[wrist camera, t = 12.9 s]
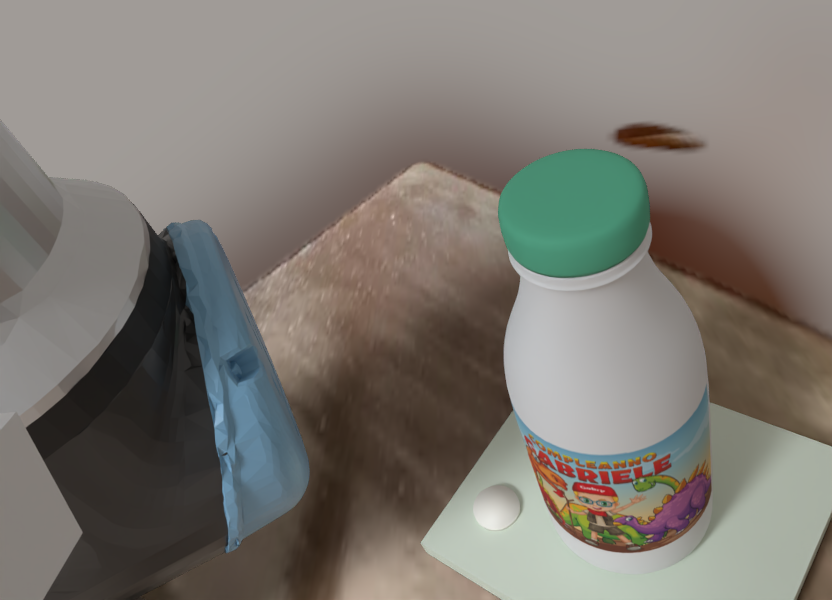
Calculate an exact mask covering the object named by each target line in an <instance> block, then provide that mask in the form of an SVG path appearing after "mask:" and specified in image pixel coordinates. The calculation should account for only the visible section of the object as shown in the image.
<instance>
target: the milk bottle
mask: <svg viewBox="0 0 832 600" xmlns="http://www.w3.org/2000/svg"><path fill="white" fill-rule="evenodd" d="M649 204H650V203H649V197H648V190H647V185H646V182H645V180H644V178H643V176H642V174H641V172H640V171H639V169H638V168H637V167H636V166H635V165H634V164H633V163H632V162H631V161H629V160H628V159H626V158H624V157H623V156H620V155H618V154H615V153H612V152H608V151H602V150H595V149H575V150H568V151H563V152H558V153H555V154H552V155H549V156H546V157H543V158H541V159H539V160H537V161H535V162H533V163H531V164H529V165H528V166H526V167H525V168H523V169H522V170H521V171H519V172H518V173H517V174H516V175H515V176H514V177H513V178H512V179H511V180H510V181H509V182H508V183H507V185H506V186H505V188H504V189H503V191H502V193H501V196H500V200H499V207H498V218H499V223H500V227H501V232H502V235H503V238H504V241H505V244H506V247H507V249H508V255H509V259H510V262H511V264H512V266H513V268H514V269H515V270H516V272H517V273H518V274H519V275H520V285H519V291H518V295H517V298H516V301H515V303H514V306H513V309H512V312H511V315H510V318H509V321H508V325H507V329H506V335H505V341H504V369H505V377H506V383H507V388H508V392H509V396H510V399H511V403H512V406H513V410H514V414H515V417H516V420H517V423H518V426H519V429H520V432H521V435H522V438H523V441H524V444H525V447H526V450H527V453H528V456H529V459H530V462H531V465H532V467H533V470H534V473H535V476H536V479H537V482H538V485H539V487H540V490H541V493H542V496H543V499H544V501H545V504H546V507H547V510H548V513H549V515H550V517H551V520H552V522H553V524H554V527H555V529H556V531H557V532H558V534H559V536H560V537H561V539H562V540H563V542H564V543H565V544H566V545H567V546H568V547H569V548H570V549H571V550H572V551H573V552H574V553H575V554H576V555H578V556H579V557H580V558H582V559H583V560H585V561H586V562H588V563H590V564H592V565H594V566H596V567H599V568H601V569H604V570H607V571H611V572H616V573H622V574H645V573H652V572H655V571H659V570H662V569H665V568H667V567H670V566H672V565H674V564H676V563H677V562H679V561H681V560H682V559H684V558H685V557H686V556H687V555H689V554H690V553H691V552H692V551H693V550H694V549H695V548H696V547H697V545H698V544H699V543H700V541H701V540H702V538H703V537H704V535H705V533H706V531H707V529H708V526H709V523H710V520H711V515H712V504H713V480H712V446H711V420H710V399H709V382H708V373H707V363H706V355H705V349H704V346H703V342H702V338H701V334H700V331H699V328H698V326H697V323H696V321H695V319H694V316H693V314H692V312H691V310H690V308H689V307H688V305H687V303H686V302H685V300H684V299H683V297H682V296H681V294H680V293H679V292H678V290H677V289H676V288H675V287H674V286H673V284H672V283H671V282H670V281H669V280H668V279H667V278H666V277H665V276H664V275H663V274H662V272H661V271H660V270H659V269H658V268H657V267H656V265H655V264H654V262H653V260H652V259H651V257H650V255H649V253H648V249H649V246H650V243H651V239H652V227H651V223H650V205H649Z"/></svg>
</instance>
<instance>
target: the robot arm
mask: <svg viewBox="0 0 832 600" xmlns="http://www.w3.org/2000/svg"><path fill="white" fill-rule="evenodd" d="M309 474H310V469H309V461H308V456H307V453H306V450H305V447H304V444H303V441H302V438H301V435H300V432H299V429H298V427H297V424H296V421H295V419H294V416H293V413H292V411H291V408H290V405H289V403H288V400H287V398H286V395H285V393H284V390H283V387H282V385H281V383H280V380H279V378H278V375H277V373H276V370H275V368H274V365H273V363H272V360H271V358H270V355H269V353H268V351H267V348H266V346H265V343H264V341H263V338H262V336H261V334H260V331H259V329H258V327H257V324H256V322H255V320H254V317H253V315H252V313H251V310H250V308H249V306H248V303H247V301H246V299H245V296H244V294H243V292H242V289H241V287H240V285H239V283H238V280H237V278H236V276H235V274H234V271H233V269H232V267H231V265H230V263H229V260H228V258H227V256H226V254H225V252H224V250H223V248H222V246H221V244H220V242H219V240H218V238H217V237H216V235H215V234H214V233H213V232H212V228H211V227H210V226H209V225H208V224H207V223H205V222H203V221H201V220H191V221H188V222H185V223H182V224H181V223H171V224H170V225H169V226H167V227H166V228H165V229H164V230H163V231H162V232H161V233H160V234H159V235H157V234H156V233H155V231H154V230H153V229H152V227H151V226H150V225H149V223H148V222H147V221H146V219H145V218H144V217H143V215H142V214H141V213H140V211H139V210H138V209H137V208H136V206H135V205H134V204H133V203H132V202H131V201H130V200H129V199H128V198H127V197H126V196H125V195H124V194H123V193H121V192H120V191H118V190H116V189H115V188H113V187H111V186H108V185H105V184H102V183H98V182H94V181H87V180H80V179H66V178H52V177H48V176H47V175H46V174H45V172H44V171H43V170H42V169H41V168H40V166H39V165H38V164H37V163H36V162H35V160H34V159H33V158H32V157H31V156H30V154H29V153H28V152H27V151H26V150H25V148H24V147H23V146H22V145H21V144H20V142H19V141H18V140H17V139H16V138H15V136H14V135H13V134H12V133H11V132H10V131H9V129H8V128H7V127H6V126H5V124H4V123H3V122H2V121H1V120H0V600H145V599H144V598H142V597H141V596H142V595H144V594H145V593H147V592H149V591H151V590H153V589H155V588H157V587H159V586H161V585H163V584H165V583H167V582H168V581H170V580H172V579H174V578H176V577H178V576H180V575H182V574H184V573H186V572H188V571H190V570H191V569H193V568H195V567H197V566H199V565H201V564H203V563H205V562H207V561H209V560H211V559H212V558H214V557H216V556H218V555H220V554H222V553H224V552H225V553H229V552H231V551H234V550H236V549H237V548H238V547H239V546H240V544H241V542H242V539H244V538H246V537H247V536H249V535H251V534H252V533H254V532H256V531H257V530H259V529H261V528H262V527H264V526H265V525H267V524H269V523H270V522H272V521H274V520H275V519H277V518H279V517H280V516H282V515H284V514H285V513H287V512H288V511H290V510H291V509H292V508H293V507H294V506H296V504H297V503H298V502H299V501H300V500H301V498H302V497H303V495H304V493H305V491H306V488H307V485H308V481H309Z"/></svg>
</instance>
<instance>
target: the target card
mask: <svg viewBox="0 0 832 600" xmlns="http://www.w3.org/2000/svg"><path fill="white" fill-rule="evenodd" d="M710 420H711V446H712V480H713V504H712V515H711V520H710V523H709V526H708V529H707V531H706V533H705V535H704V537H703V538H702V540H701V541H700V543H699V544H698V545H697V547H696V548H695V549H694V550H693V551H692V552H691V553H690V554H689V555H687V556H686V557H685V558H684V559H682V560H681V561H679V562H677V563H676V564H674V565H672V566H670V567H667V568H665V569H662V570H659V571H655V572H652V573H645V574H622V573H616V572H611V571H607V570H604V569H601V568H599V567H596V566H594V565H592V564H590V563H588V562H586V561H585V560H583V559H582V558H580V557H579V556H578V555H576V554H575V553H574V552H573V551H572V550H571V549H570V548H569V547H568V546H567V545H566V544H565V543H564V542H563V540H562V539H561V537H560V536H559V534H558V532H557V531H556V529H555V527H554V524H553V522H552V520H551V517H550V515H549V513H548V510H547V507H546V504H545V501H544V499H543V496H542V493H541V490H540V487H539V485H538V482H537V479H536V476H535V473H534V470H533V467H532V465H531V462H530V459H529V456H528V453H527V450H526V447H525V444H524V441H523V438H522V435H521V432H520V429H519V426H518V423H517V420H516V417H515V414H514V410H513V411H512V413H511V414H510V415H509V417H508V418H507V420H506V421H505V423H504V424H503V425H502V427H501V428H500V430H499V431H498V433H497V434H496V435H495V437H494V438H493V440H492V441H491V443H490V444H489V445H488V447H487V448H486V450H485V451H484V453H483V454H482V456H481V457H480V458H479V460H478V461H477V463H476V464H475V466H474V467H473V468H472V470H471V471H470V473H469V474H468V476H467V477H466V478H465V480H464V481H463V483H462V484H461V486H460V487H459V488H458V490H457V491H456V493H455V494H454V496H453V497H452V499H451V500H450V501H449V503H448V504H447V506H446V507H445V509H444V510H443V511H442V513H441V514H440V516H439V517H438V519H437V520H436V521H435V523H434V524H433V526H432V527H431V529H430V530H429V531H428V533H427V534H426V536H425V537H424V539H423V540H422V542H421V544H422V546H423V548H424V549H425V551H426V552H427V553H428V554H430V555H431V556H433V557H434V558H436V559H438V560H439V561H441V562H442V563H444V564H446V565H447V566H449V567H450V568H452V569H454V570H455V571H457V572H458V573H460V574H462V575H463V576H465V577H466V578H468V579H470V580H471V581H473V582H475V583H476V584H478V585H479V586H481V587H483V588H484V589H486V590H487V591H489V592H491V593H492V594H494V595H495V596H497V597H499V598H500V599H502V600H797V598H798V595H799V593H800V591H801V588H802V586H803V584H804V581H805V579H806V577H807V574H808V572H809V570H810V567H811V565H812V563H813V560H814V558H815V556H816V553H817V551H818V548H819V546H820V544H821V541H822V539H823V537H824V534H825V532H826V530H827V527H828V525H829V523H830V520H831V518H832V446H829V445H826V444H823V443H821V442H818V441H815V440H812V439H810V438H807V437H804V436H801V435H799V434H796V433H793V432H790V431H788V430H785V429H782V428H779V427H777V426H774V425H771V424H768V423H766V422H763V421H760V420H758V419H755V418H752V417H749V416H747V415H744V414H741V413H738V412H736V411H733V410H730V409H727V408H725V407H722V406H719V405H716V404H714V403H711V402H710Z"/></svg>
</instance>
